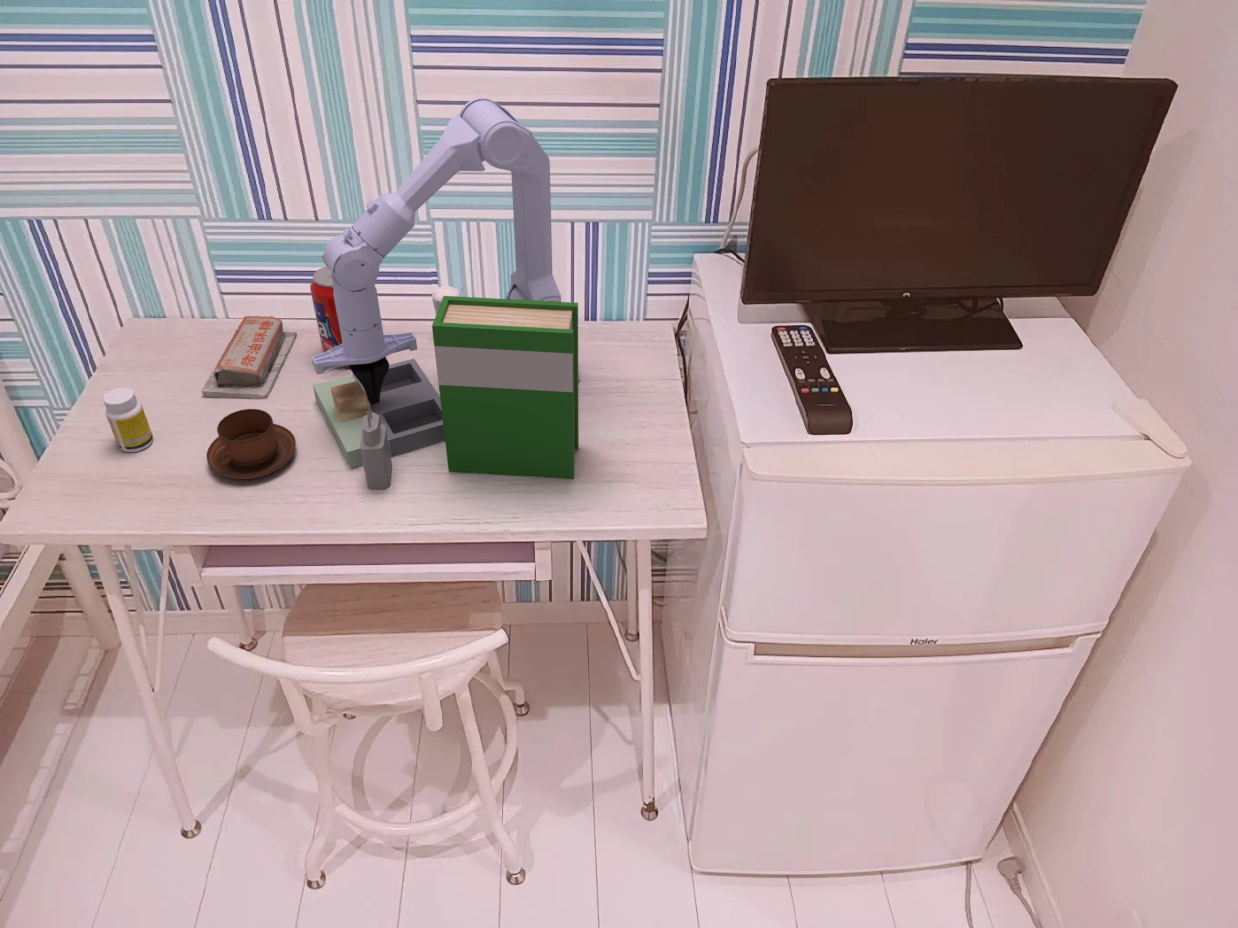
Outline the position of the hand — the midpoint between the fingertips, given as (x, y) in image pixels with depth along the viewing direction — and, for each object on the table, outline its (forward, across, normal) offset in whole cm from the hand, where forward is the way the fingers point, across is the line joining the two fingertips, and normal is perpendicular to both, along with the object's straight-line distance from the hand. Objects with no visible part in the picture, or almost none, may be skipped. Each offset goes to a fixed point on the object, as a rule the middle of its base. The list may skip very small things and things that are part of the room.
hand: (373, 400), depth 145 cm
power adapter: (+4, +4, +12) cm, 14 cm away
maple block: (+1, +3, 0) cm, 3 cm away
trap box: (+4, -1, 0) cm, 4 cm away
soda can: (+4, -1, -18) cm, 19 cm away
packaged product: (+4, +13, -23) cm, 27 cm away
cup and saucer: (+4, +18, +1) cm, 19 cm away
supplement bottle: (+4, +32, -10) cm, 34 cm away
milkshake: (+4, -18, -16) cm, 25 cm away
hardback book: (+4, -15, +17) cm, 23 cm away
